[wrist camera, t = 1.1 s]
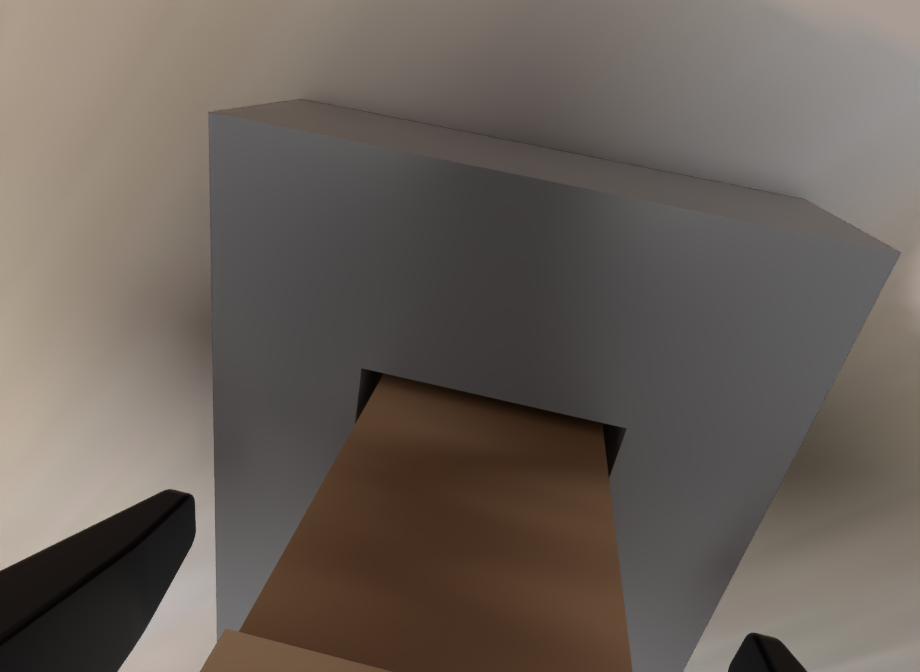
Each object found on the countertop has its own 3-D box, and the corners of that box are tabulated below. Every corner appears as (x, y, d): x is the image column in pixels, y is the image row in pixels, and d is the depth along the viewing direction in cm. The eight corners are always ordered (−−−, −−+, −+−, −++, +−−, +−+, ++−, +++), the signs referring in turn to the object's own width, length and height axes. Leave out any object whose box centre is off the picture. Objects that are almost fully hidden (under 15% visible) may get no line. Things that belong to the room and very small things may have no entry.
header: (805, 199, 11) (901, 252, 8) (623, 624, 16) (638, 756, 13) (300, 99, 12) (208, 112, 9) (279, 538, 17) (217, 646, 14)
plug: (600, 356, 13) (665, 814, 5) (553, 505, 14) (549, 1009, 7) (410, 314, 13) (190, 687, 5) (388, 466, 15) (201, 906, 7)
